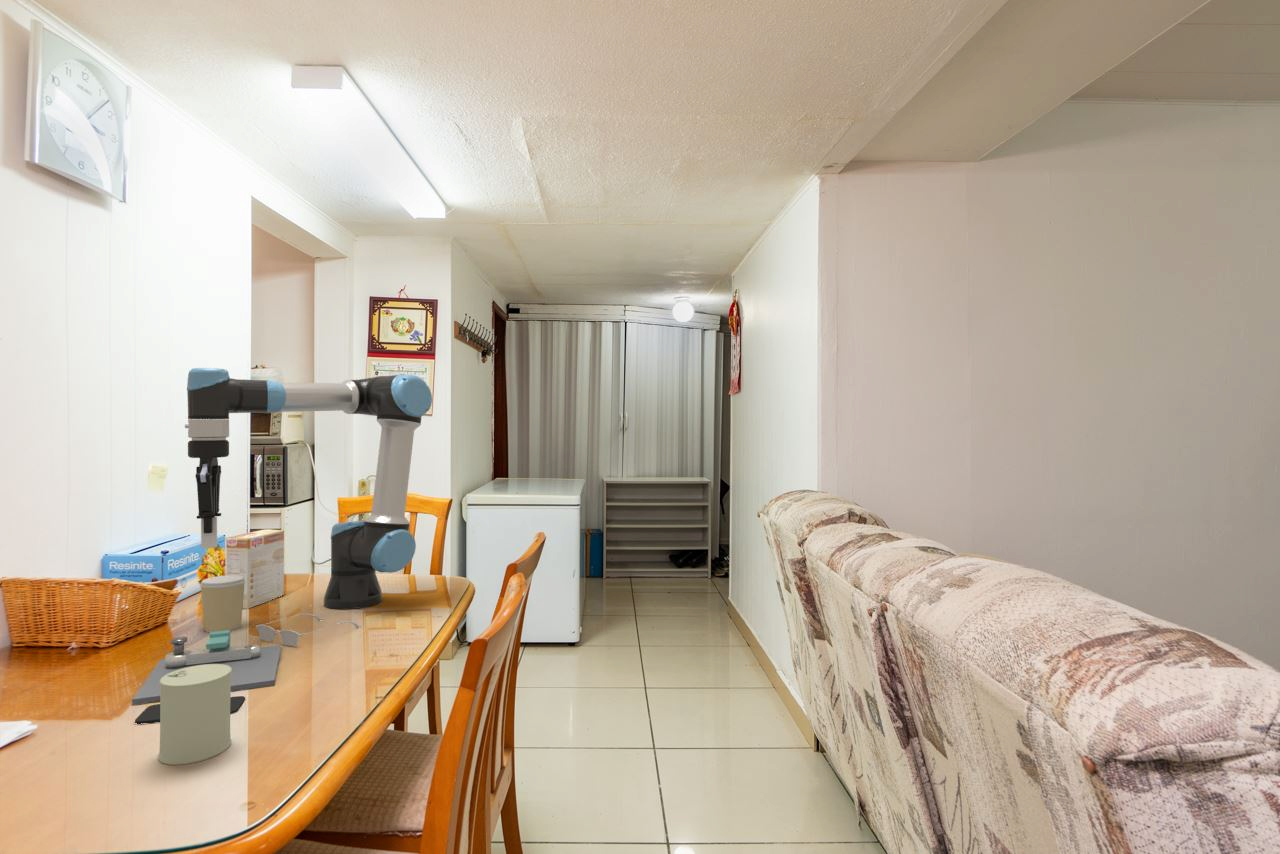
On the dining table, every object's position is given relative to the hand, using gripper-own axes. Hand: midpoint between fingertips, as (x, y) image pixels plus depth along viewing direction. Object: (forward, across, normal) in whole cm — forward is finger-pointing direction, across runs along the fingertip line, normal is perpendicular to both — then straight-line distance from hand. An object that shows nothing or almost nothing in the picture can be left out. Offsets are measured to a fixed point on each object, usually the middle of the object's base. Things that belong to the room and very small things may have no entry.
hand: (209, 547), depth 144 cm
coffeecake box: (+24, -46, +3) cm, 52 cm away
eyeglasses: (+24, -8, +19) cm, 32 cm away
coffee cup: (+24, -21, -1) cm, 31 cm away
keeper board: (+23, +15, +4) cm, 28 cm away
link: (+22, +10, +2) cm, 24 cm away
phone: (+23, +33, +3) cm, 41 cm away
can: (+23, +50, +7) cm, 56 cm away
